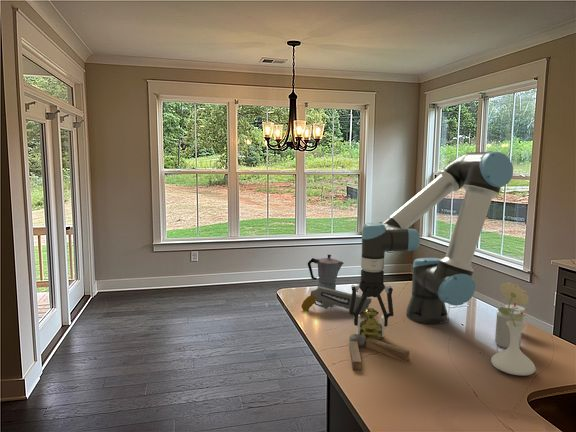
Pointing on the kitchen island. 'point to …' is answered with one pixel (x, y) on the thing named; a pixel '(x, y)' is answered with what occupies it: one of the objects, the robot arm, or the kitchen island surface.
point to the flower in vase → (513, 337)
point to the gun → (332, 299)
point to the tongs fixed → (356, 349)
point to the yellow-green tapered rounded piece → (370, 325)
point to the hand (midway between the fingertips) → (370, 334)
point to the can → (505, 327)
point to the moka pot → (326, 271)
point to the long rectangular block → (387, 349)
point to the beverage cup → (516, 307)
